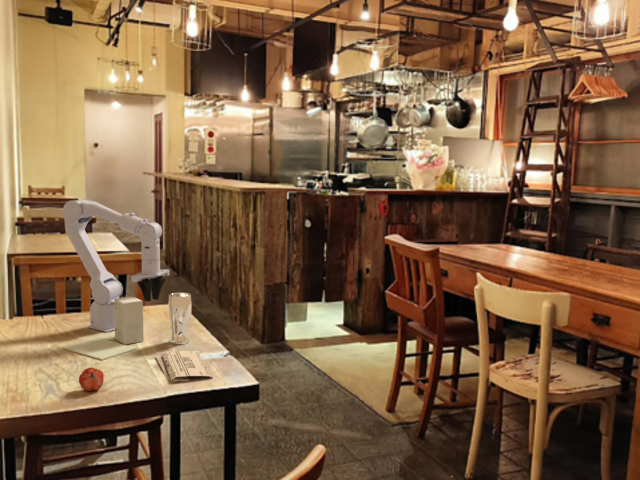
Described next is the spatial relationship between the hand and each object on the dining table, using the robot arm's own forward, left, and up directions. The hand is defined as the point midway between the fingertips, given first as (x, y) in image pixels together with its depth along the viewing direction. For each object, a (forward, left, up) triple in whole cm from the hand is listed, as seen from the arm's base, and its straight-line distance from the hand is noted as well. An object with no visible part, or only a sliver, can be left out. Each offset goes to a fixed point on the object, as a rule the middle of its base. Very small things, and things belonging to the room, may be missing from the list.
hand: (151, 300), depth 190 cm
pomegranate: (+26, -43, -11) cm, 51 cm away
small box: (+2, -11, -11) cm, 15 cm away
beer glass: (+16, -3, -11) cm, 19 cm away
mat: (+2, -22, -10) cm, 24 cm away
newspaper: (+33, -19, -11) cm, 40 cm away
